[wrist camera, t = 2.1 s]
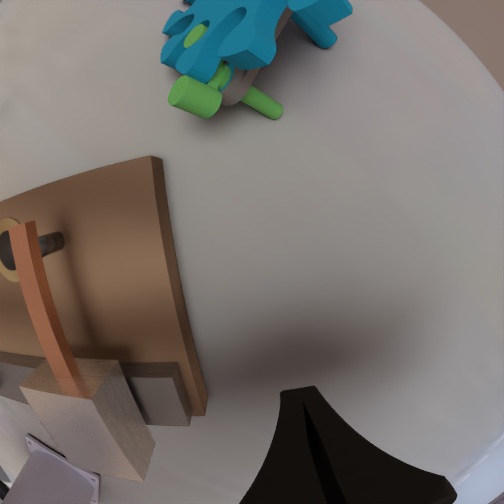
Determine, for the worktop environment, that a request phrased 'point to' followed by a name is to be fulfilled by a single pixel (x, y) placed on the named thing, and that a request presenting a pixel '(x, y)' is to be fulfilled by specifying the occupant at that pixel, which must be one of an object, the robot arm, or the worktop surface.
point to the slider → (77, 379)
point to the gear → (237, 48)
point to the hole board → (104, 271)
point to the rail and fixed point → (137, 377)
